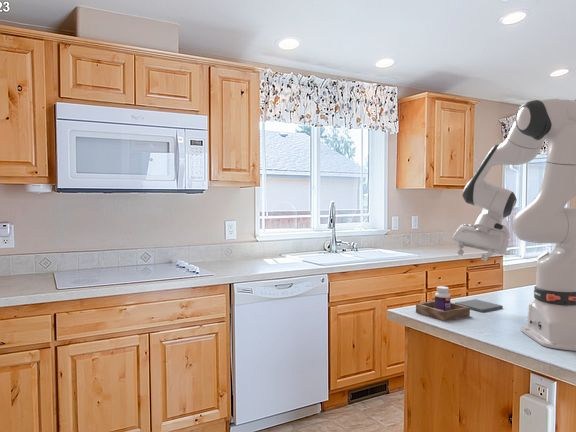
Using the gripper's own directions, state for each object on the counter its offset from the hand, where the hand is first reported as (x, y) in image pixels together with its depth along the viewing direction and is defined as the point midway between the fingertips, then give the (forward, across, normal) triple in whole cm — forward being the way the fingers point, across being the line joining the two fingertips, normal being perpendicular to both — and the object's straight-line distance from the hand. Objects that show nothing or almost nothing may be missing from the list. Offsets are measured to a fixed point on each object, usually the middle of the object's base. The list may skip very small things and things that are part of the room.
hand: (471, 257), depth 164 cm
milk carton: (-19, +9, +55) cm, 58 cm away
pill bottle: (+25, 0, 0) cm, 25 cm away
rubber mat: (+12, +3, +16) cm, 20 cm away
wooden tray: (+25, 0, 0) cm, 25 cm away
